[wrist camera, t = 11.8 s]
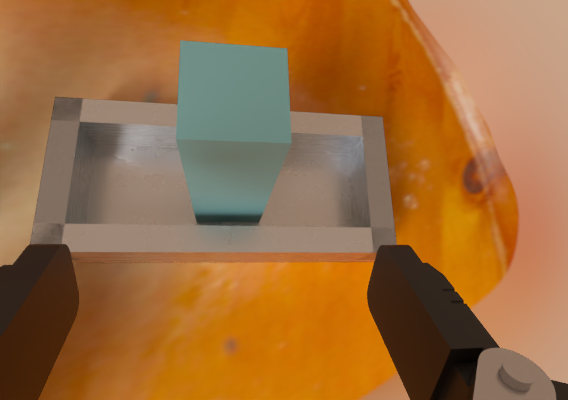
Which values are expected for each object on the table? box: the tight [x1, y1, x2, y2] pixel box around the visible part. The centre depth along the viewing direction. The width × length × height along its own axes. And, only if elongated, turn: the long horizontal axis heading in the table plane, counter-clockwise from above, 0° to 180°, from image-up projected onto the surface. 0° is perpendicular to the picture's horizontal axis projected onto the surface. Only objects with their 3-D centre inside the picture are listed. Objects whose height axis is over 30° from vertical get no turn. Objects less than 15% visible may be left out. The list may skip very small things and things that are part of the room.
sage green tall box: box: [176, 41, 292, 222], centre depth 20 cm, size 4×4×12 cm
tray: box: [30, 97, 397, 262], centre depth 24 cm, size 20×9×4 cm, turn 91°
